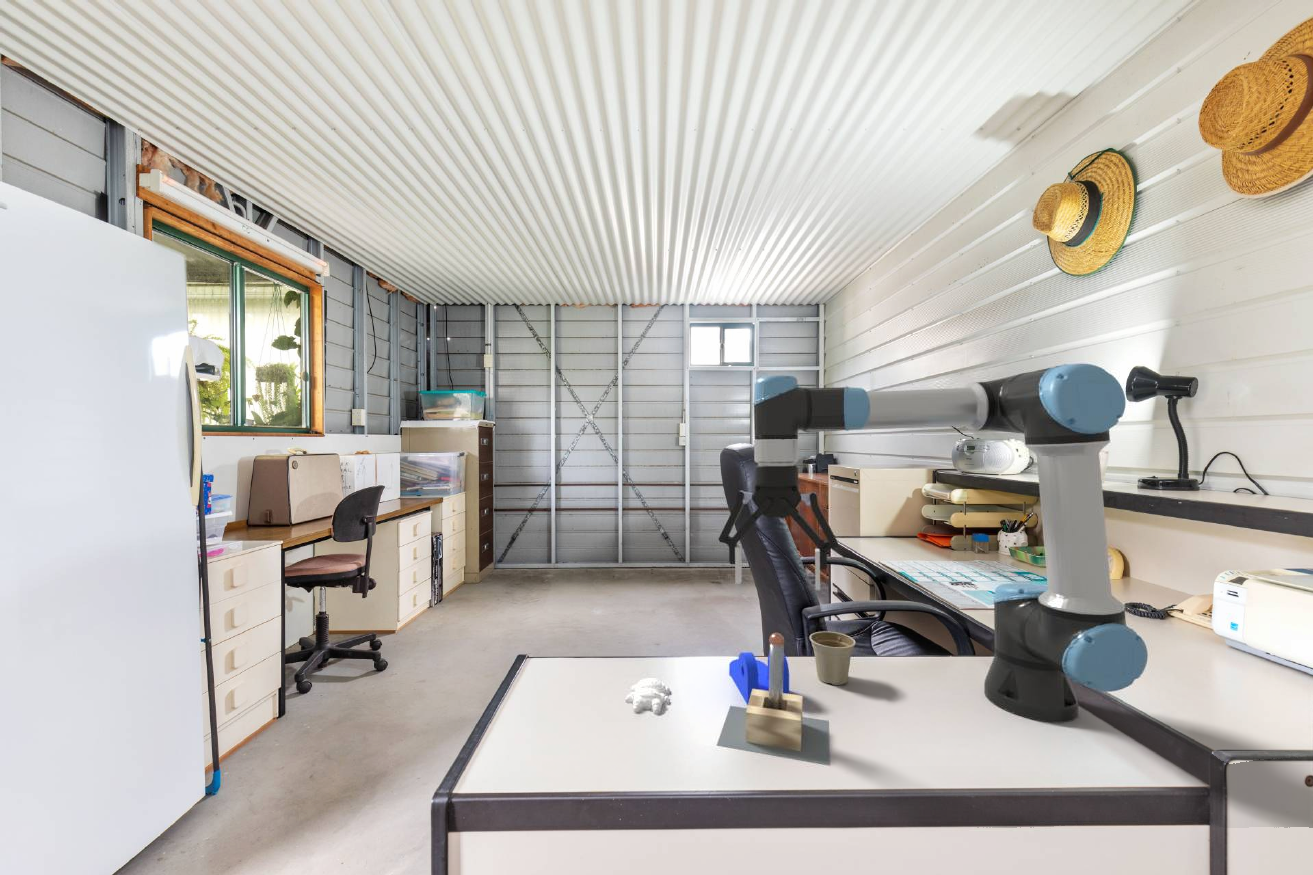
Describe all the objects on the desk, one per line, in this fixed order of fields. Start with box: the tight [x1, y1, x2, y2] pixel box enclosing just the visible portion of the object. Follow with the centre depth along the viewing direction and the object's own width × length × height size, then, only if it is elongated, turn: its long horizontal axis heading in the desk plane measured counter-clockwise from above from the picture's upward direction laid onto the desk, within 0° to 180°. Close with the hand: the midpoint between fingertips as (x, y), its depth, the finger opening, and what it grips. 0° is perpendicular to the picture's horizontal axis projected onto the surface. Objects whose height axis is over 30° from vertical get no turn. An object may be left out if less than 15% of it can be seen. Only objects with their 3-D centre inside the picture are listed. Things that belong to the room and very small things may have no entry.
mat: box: [716, 705, 831, 766], centre depth 93 cm, size 18×14×1 cm
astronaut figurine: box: [624, 677, 671, 715], centre depth 105 cm, size 9×12×3 cm
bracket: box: [728, 651, 790, 706], centre depth 112 cm, size 18×8×9 cm, turn 6°
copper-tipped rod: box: [768, 632, 785, 711], centre depth 93 cm, size 3×3×17 cm
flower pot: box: [809, 631, 856, 686], centre depth 115 cm, size 9×9×9 cm
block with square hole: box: [746, 689, 804, 751], centre depth 93 cm, size 9×9×5 cm
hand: (777, 585), depth 93 cm, fingers open, 13 cm apart
